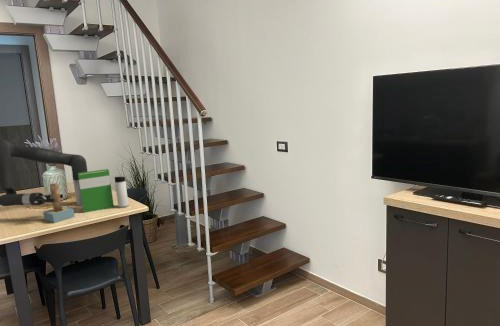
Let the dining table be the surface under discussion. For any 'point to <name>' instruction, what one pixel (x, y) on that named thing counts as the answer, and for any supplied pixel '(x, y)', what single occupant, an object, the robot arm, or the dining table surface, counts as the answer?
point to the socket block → (59, 215)
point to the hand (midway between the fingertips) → (58, 198)
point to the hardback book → (95, 190)
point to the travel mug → (121, 192)
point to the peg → (56, 197)
